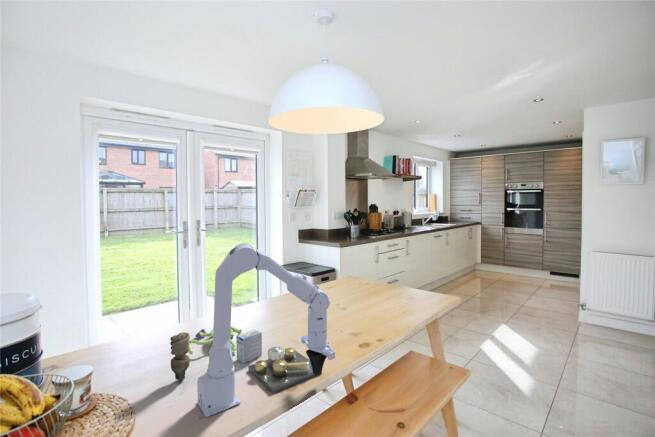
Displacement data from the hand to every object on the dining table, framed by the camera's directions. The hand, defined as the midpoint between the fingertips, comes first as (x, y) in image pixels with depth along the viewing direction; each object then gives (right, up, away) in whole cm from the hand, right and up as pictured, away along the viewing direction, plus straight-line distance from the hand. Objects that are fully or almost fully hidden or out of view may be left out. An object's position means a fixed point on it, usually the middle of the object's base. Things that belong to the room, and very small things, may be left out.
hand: (317, 373), depth 98 cm
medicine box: (-25, -3, +17) cm, 30 cm away
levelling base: (-11, -3, +7) cm, 13 cm away
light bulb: (-42, -3, +2) cm, 42 cm away
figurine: (-40, -3, +27) cm, 48 cm away
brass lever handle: (-8, -1, +4) cm, 10 cm away
